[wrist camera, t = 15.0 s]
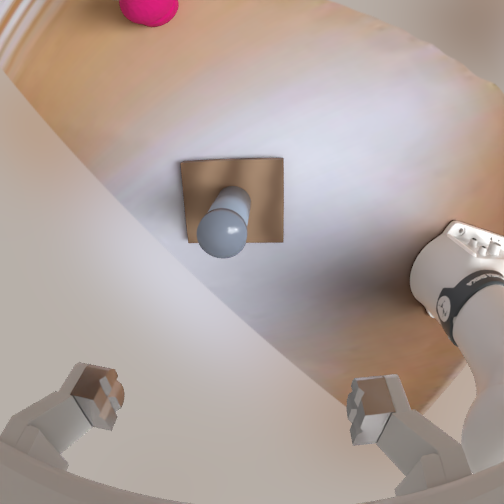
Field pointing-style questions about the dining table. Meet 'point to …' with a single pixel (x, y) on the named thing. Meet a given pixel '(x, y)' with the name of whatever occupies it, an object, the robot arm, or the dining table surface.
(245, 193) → the spice jar
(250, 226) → the walnut board
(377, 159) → the dining table surface
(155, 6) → the pepper mill
